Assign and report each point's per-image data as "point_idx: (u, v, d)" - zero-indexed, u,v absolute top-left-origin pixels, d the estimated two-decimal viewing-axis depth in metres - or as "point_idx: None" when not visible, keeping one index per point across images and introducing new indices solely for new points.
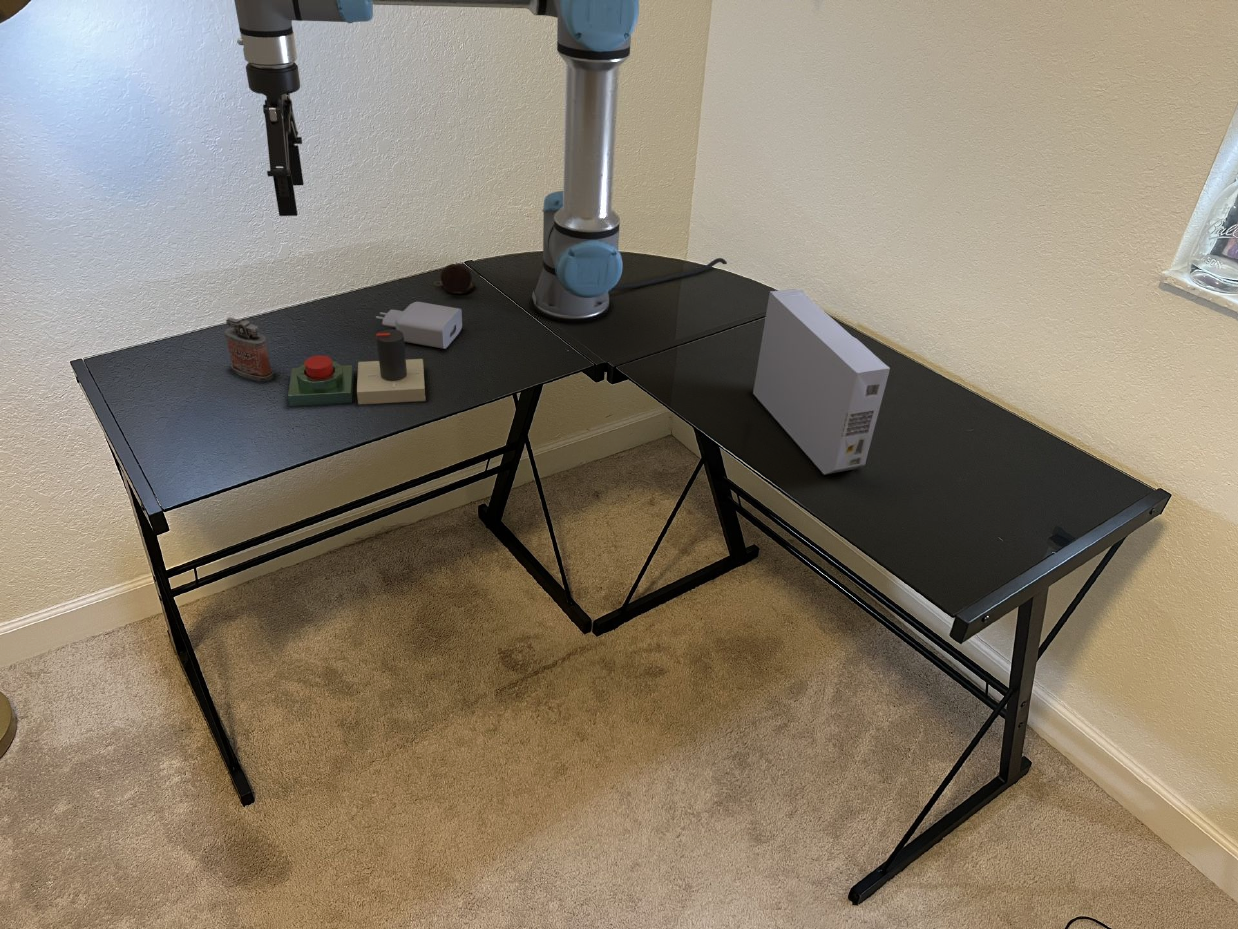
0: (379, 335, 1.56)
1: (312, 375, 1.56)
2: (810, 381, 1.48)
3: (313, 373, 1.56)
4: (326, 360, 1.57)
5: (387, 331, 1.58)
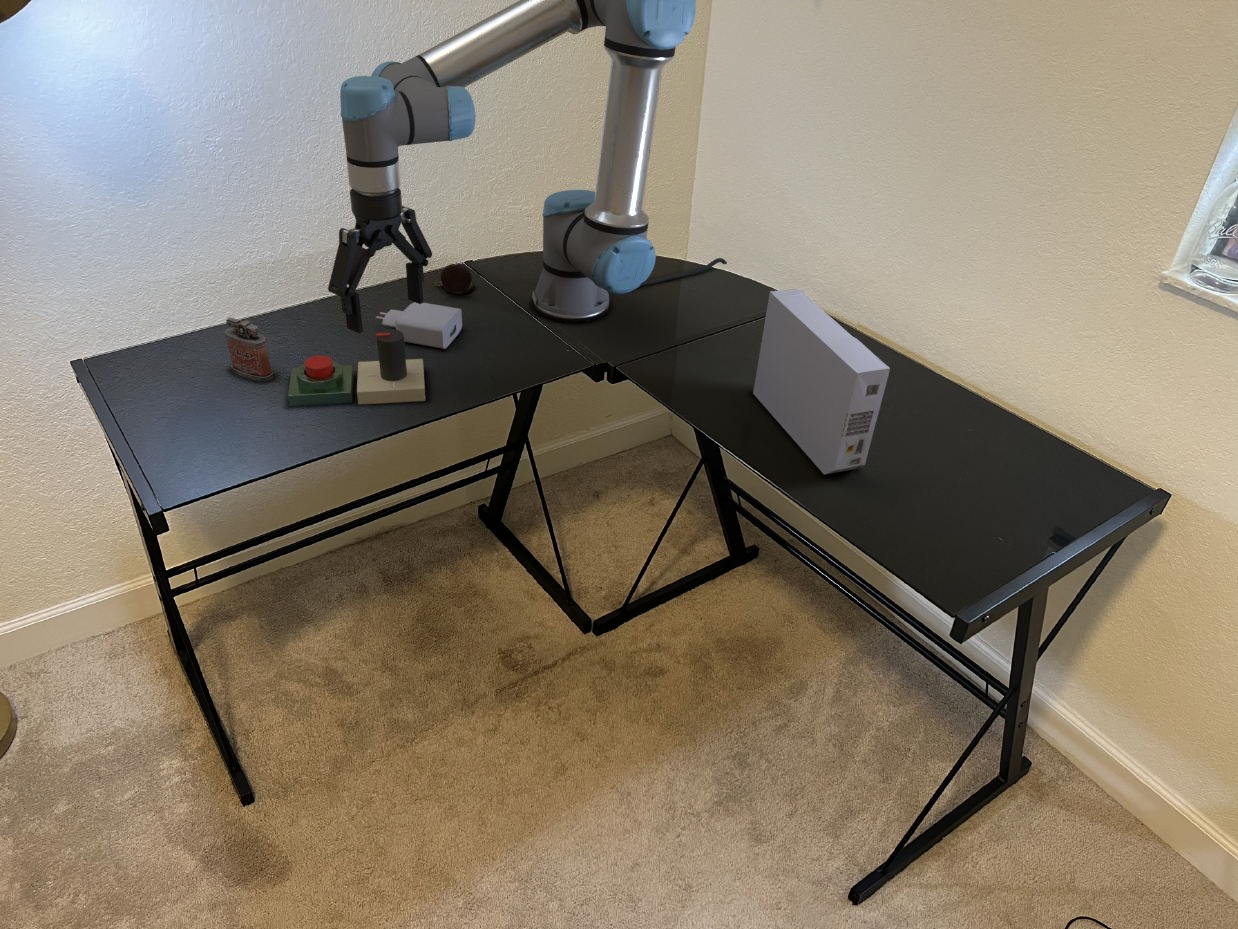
0: (379, 335, 1.56)
1: (312, 375, 1.56)
2: (810, 381, 1.48)
3: (313, 373, 1.56)
4: (326, 360, 1.57)
5: (387, 331, 1.58)
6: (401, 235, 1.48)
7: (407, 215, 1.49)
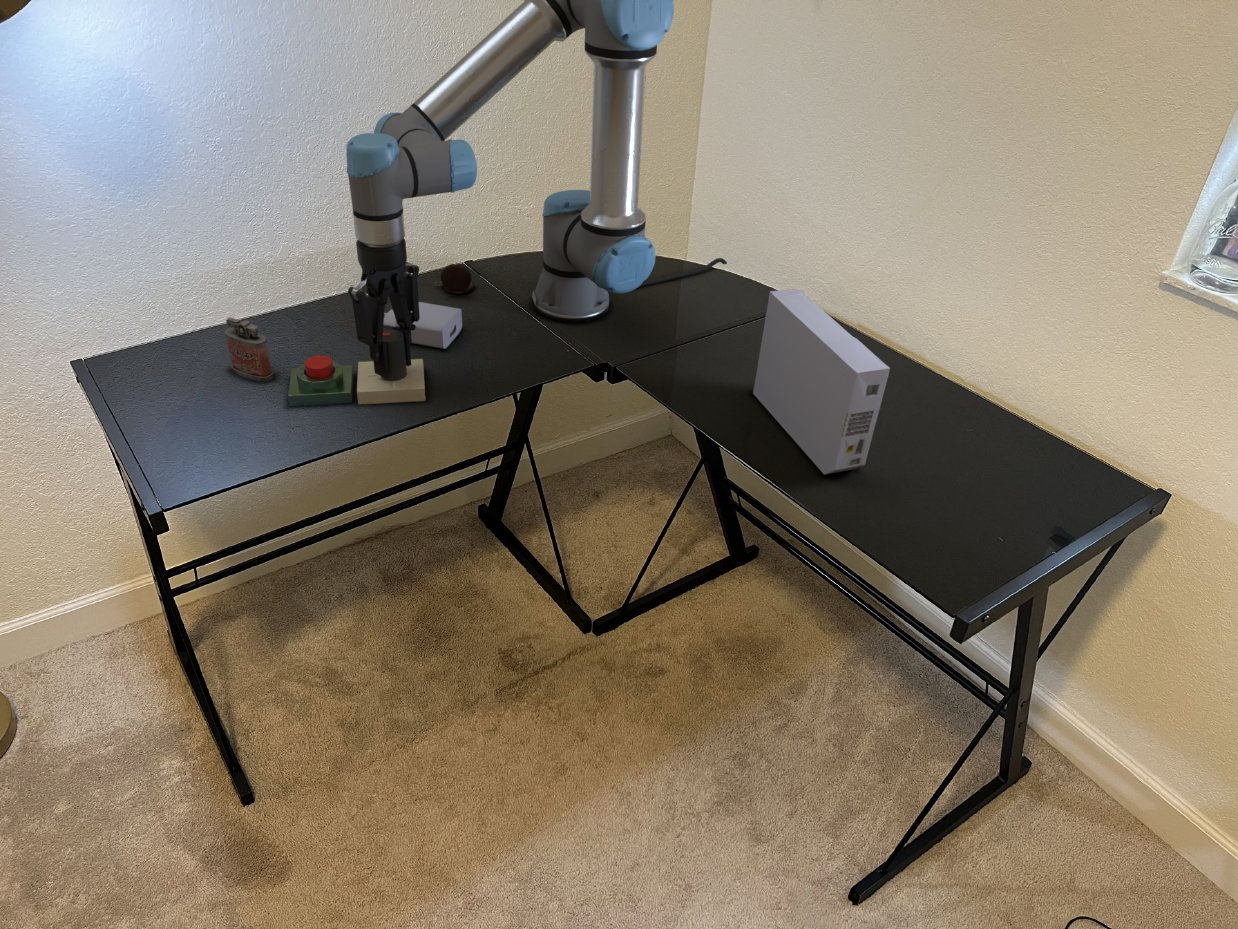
0: None
1: (312, 375, 1.56)
2: (810, 381, 1.48)
3: (313, 373, 1.56)
4: (326, 360, 1.57)
5: (387, 331, 1.58)
6: (402, 288, 1.52)
7: (411, 270, 1.54)
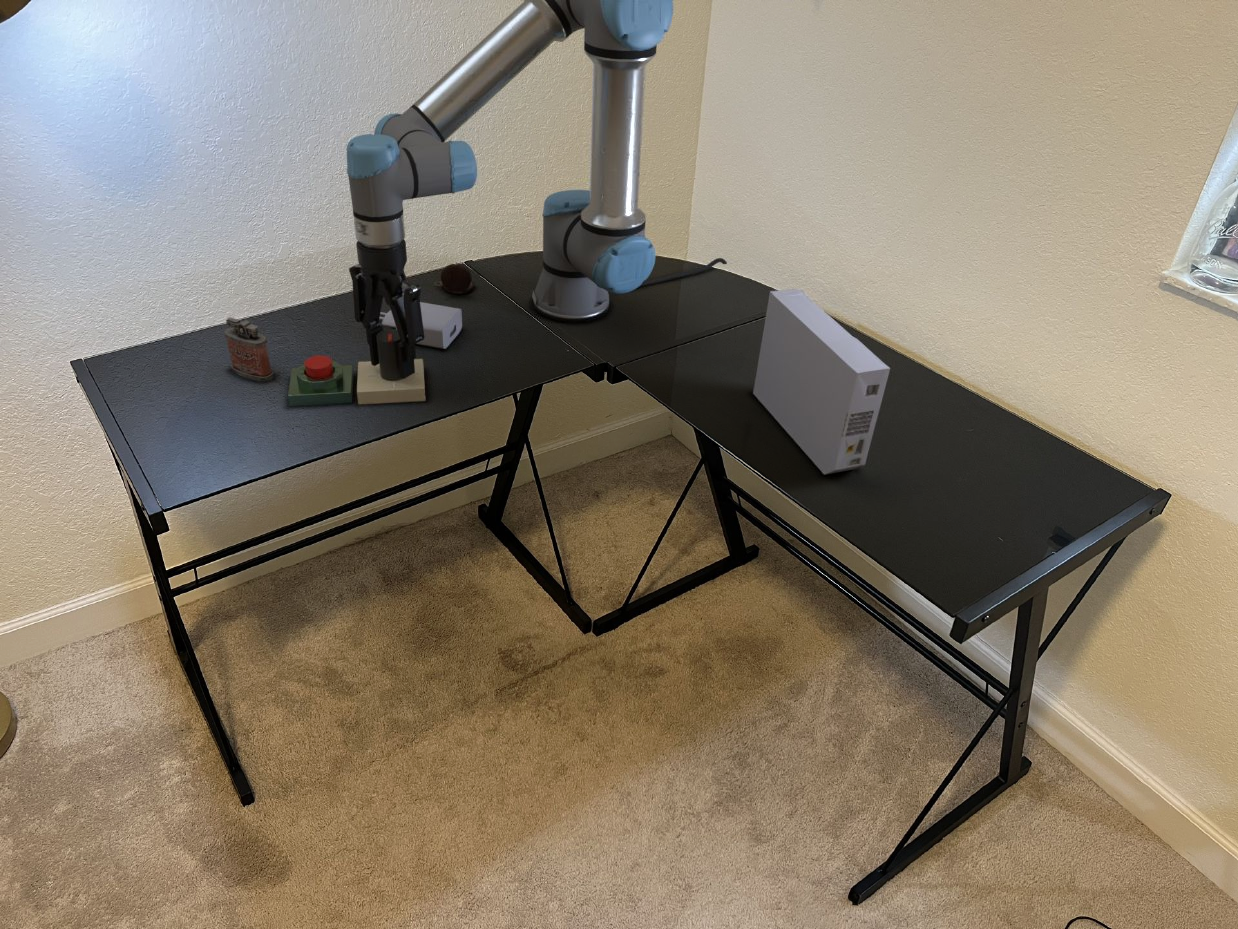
0: (391, 339, 1.55)
1: (312, 375, 1.56)
2: (810, 381, 1.48)
3: (313, 373, 1.56)
4: (326, 360, 1.57)
5: (381, 336, 1.56)
6: None
7: None
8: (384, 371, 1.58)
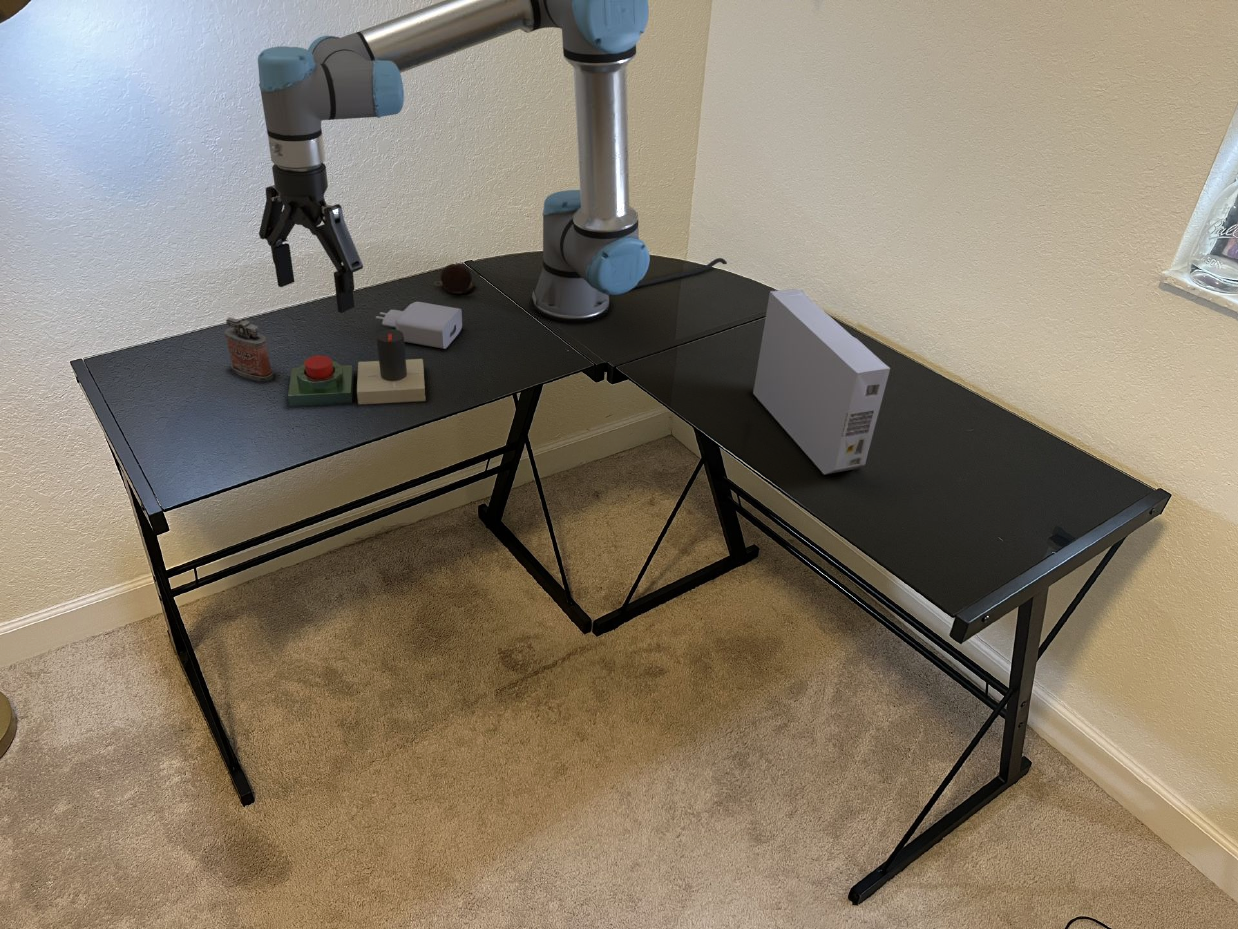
0: (391, 339, 1.55)
1: (312, 375, 1.56)
2: (810, 381, 1.48)
3: (313, 373, 1.56)
4: (326, 360, 1.57)
5: (381, 336, 1.56)
6: None
7: None
8: (384, 371, 1.58)
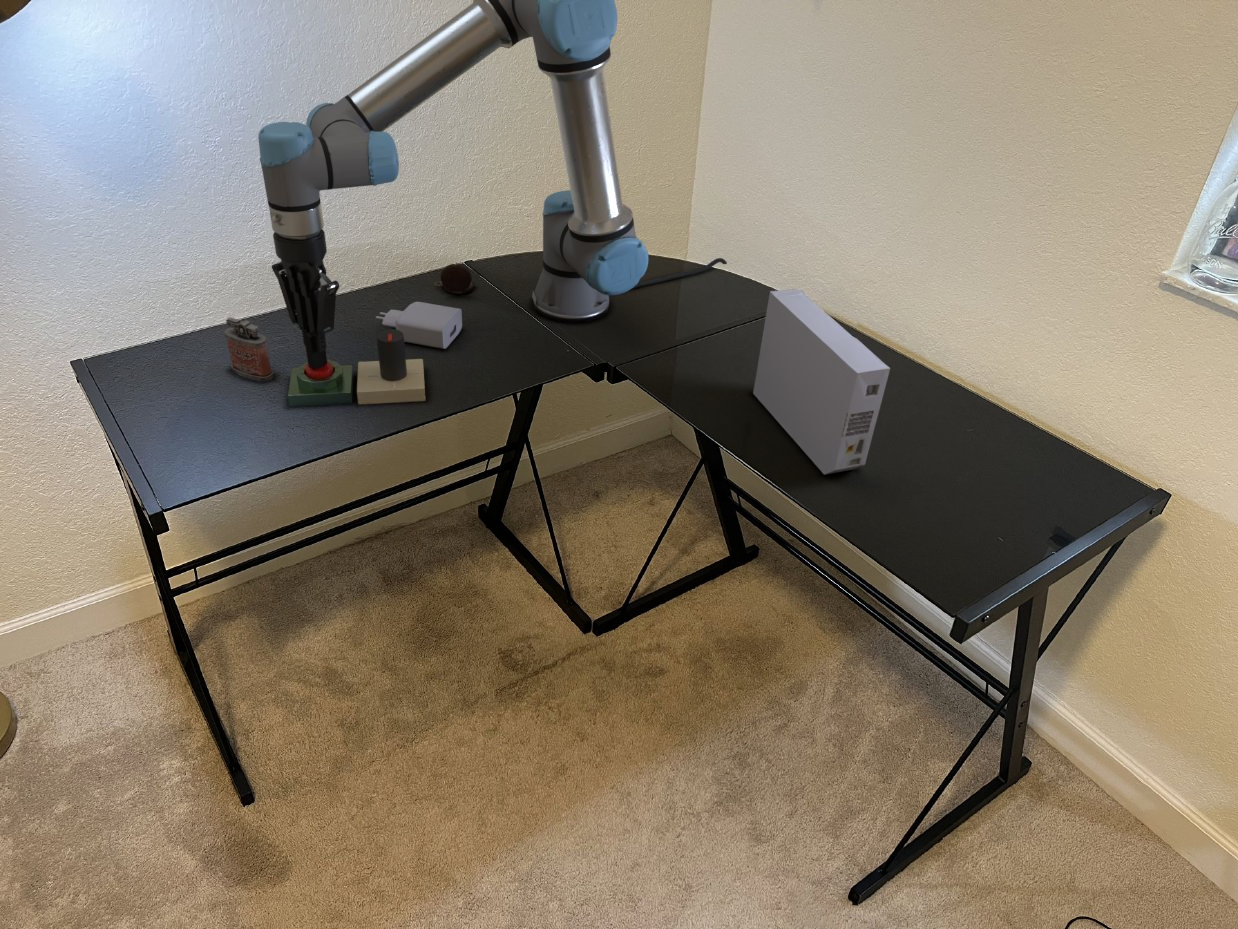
0: (391, 339, 1.55)
1: None
2: (810, 381, 1.48)
3: None
4: (326, 365, 1.58)
5: (381, 336, 1.56)
6: None
7: None
8: (384, 371, 1.58)
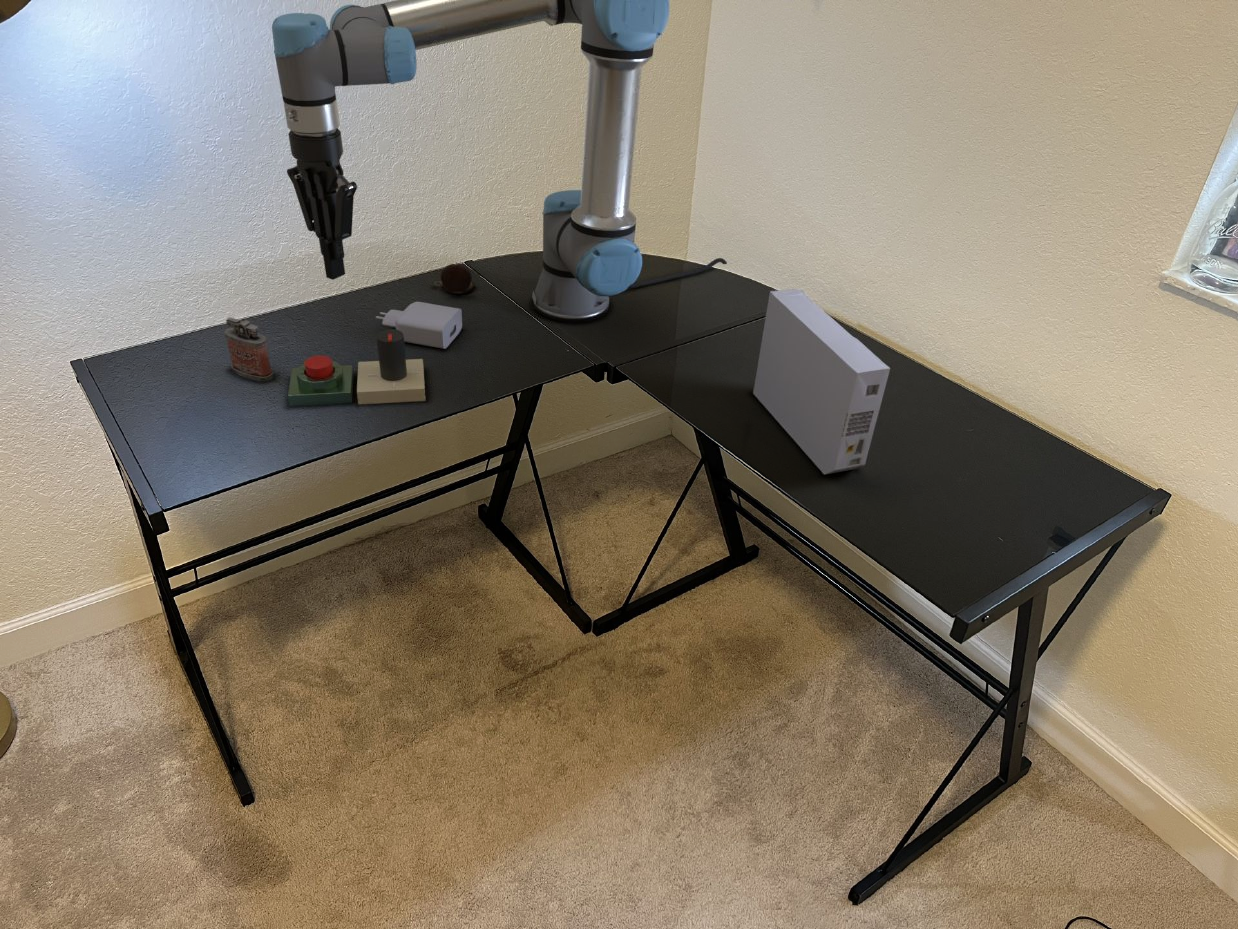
0: (391, 339, 1.55)
1: (312, 375, 1.56)
2: (810, 381, 1.48)
3: (313, 373, 1.56)
4: (326, 360, 1.57)
5: (381, 336, 1.56)
6: None
7: None
8: (384, 371, 1.58)
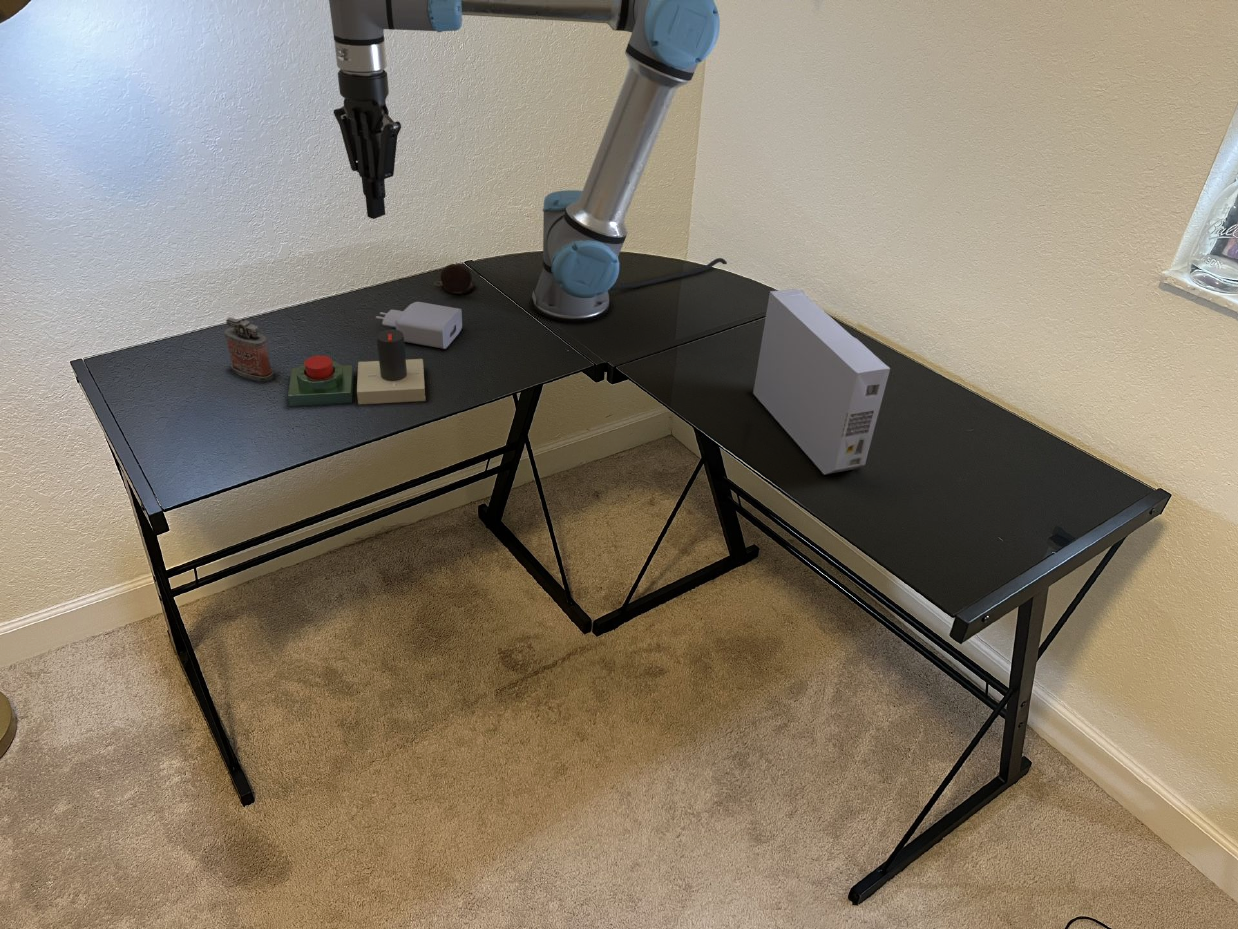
0: (391, 339, 1.55)
1: (312, 375, 1.56)
2: (810, 381, 1.48)
3: (313, 373, 1.56)
4: (326, 360, 1.57)
5: (381, 336, 1.56)
6: None
7: None
8: (384, 371, 1.58)
